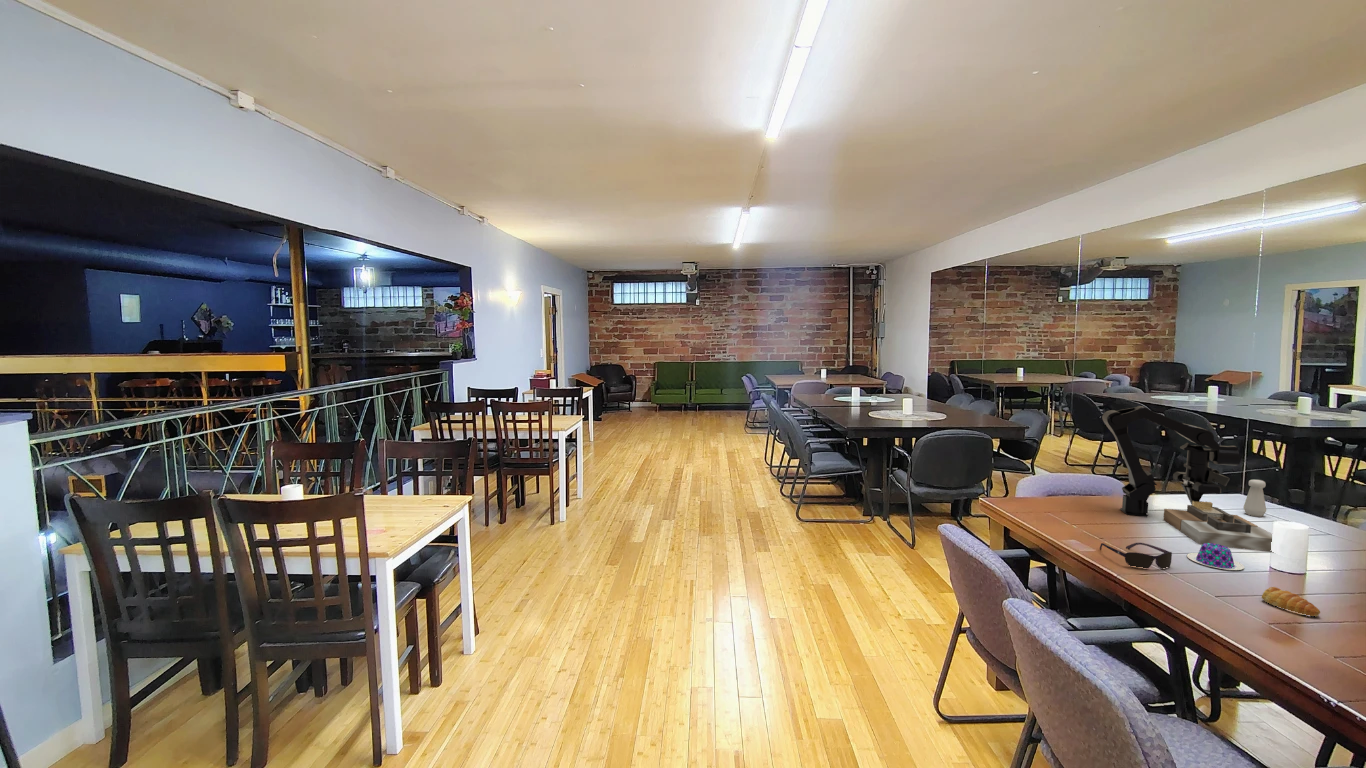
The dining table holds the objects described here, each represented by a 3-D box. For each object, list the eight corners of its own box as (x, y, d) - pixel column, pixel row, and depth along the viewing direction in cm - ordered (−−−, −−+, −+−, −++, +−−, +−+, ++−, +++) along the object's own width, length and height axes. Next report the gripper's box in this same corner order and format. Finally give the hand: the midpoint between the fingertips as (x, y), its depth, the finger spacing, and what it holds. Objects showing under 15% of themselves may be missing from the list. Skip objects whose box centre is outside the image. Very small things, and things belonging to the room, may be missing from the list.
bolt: (1203, 517, 183) (1204, 507, 182) (1191, 510, 190) (1192, 500, 190) (1223, 519, 181) (1223, 509, 181) (1209, 512, 188) (1210, 502, 188)
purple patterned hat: (1176, 558, 162) (1177, 541, 161) (1204, 553, 165) (1205, 536, 165) (1226, 574, 150) (1227, 556, 150) (1254, 569, 154) (1256, 551, 153)
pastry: (1327, 617, 127) (1329, 602, 127) (1306, 621, 126) (1307, 605, 126) (1277, 598, 137) (1279, 584, 136) (1256, 601, 135) (1258, 587, 135)
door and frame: (1199, 543, 171) (1200, 524, 171) (1163, 519, 194) (1164, 501, 193) (1282, 552, 164) (1284, 531, 164) (1235, 526, 186) (1237, 507, 186)
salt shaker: (1270, 517, 195) (1274, 482, 194) (1254, 517, 195) (1257, 482, 194) (1254, 512, 201) (1257, 478, 199) (1238, 512, 201) (1241, 478, 199)
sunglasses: (1131, 571, 153) (1132, 554, 153) (1089, 549, 169) (1090, 533, 168) (1179, 570, 153) (1180, 553, 153) (1133, 548, 169) (1134, 533, 168)
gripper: (1243, 471, 180) (1239, 516, 182) (1211, 458, 198) (1208, 500, 199) (1200, 468, 184) (1197, 512, 186) (1173, 456, 202) (1170, 497, 203)
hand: (1194, 505), depth 193 cm, fingers closed
